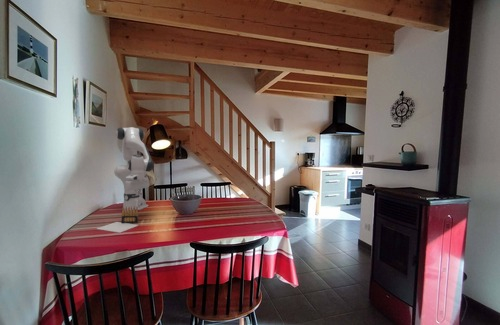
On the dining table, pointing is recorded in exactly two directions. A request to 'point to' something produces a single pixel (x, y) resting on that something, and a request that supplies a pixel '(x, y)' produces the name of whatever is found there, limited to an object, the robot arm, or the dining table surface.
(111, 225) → the mat
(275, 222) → the dining table surface
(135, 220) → the ammunition clip
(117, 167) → the robot arm
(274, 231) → the dining table surface
